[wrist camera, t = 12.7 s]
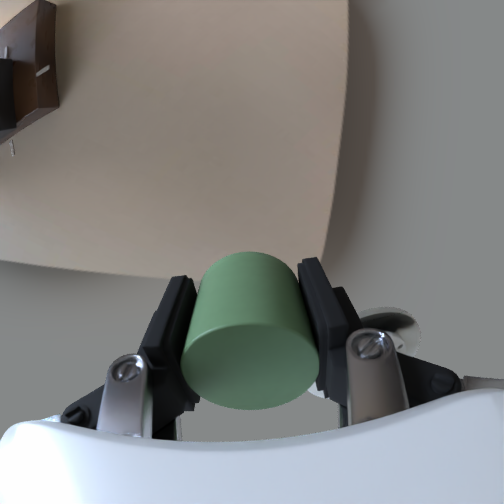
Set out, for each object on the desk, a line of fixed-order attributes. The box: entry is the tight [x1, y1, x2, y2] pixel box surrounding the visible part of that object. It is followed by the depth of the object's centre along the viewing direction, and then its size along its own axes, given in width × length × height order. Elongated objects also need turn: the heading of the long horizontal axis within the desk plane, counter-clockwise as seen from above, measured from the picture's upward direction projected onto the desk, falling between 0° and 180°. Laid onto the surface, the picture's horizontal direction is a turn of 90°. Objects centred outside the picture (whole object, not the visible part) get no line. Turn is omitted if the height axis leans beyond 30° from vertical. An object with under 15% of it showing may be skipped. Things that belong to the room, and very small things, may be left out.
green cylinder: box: [180, 252, 319, 410], centre depth 9 cm, size 4×4×4 cm
